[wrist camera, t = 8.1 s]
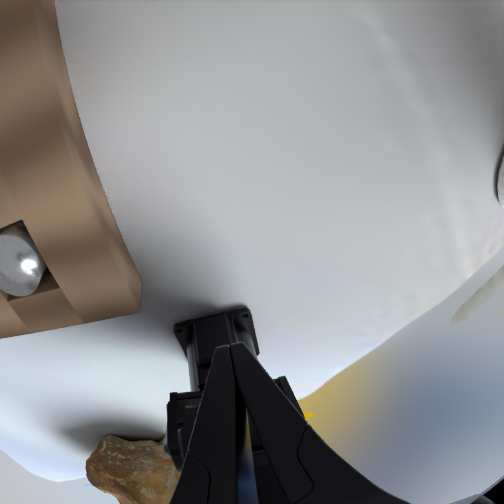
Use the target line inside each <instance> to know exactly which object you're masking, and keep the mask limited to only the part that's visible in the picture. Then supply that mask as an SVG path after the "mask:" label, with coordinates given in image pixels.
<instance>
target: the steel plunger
mask: <svg viewBox="0 0 504 504" xmlns="http://www.w3.org/2000/svg"><path fill="white" fill-rule="evenodd" d="M46 267H47V265H46V263H45V261H44V260H43V258H42V256H41V254H40V252H39V251H38V249H37V247H36V245H35V243H34V241H33V239H32V237H31V236H30V234H29V232H28V230H27V228H26V226H25V224H24V222H23V220H19V221H17V222H14V223H12V224H9V225H7V226H5V227H2V228H0V289H1V290H3V291H5V292H6V293H9V294H11V295H14V296H27V295H30V294H32V293H33V292H34V291H35V290H36V289H37V287H38V285H39V282H40V280H41V278H42V276H43V273H44V271H45V269H46Z"/></svg>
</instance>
